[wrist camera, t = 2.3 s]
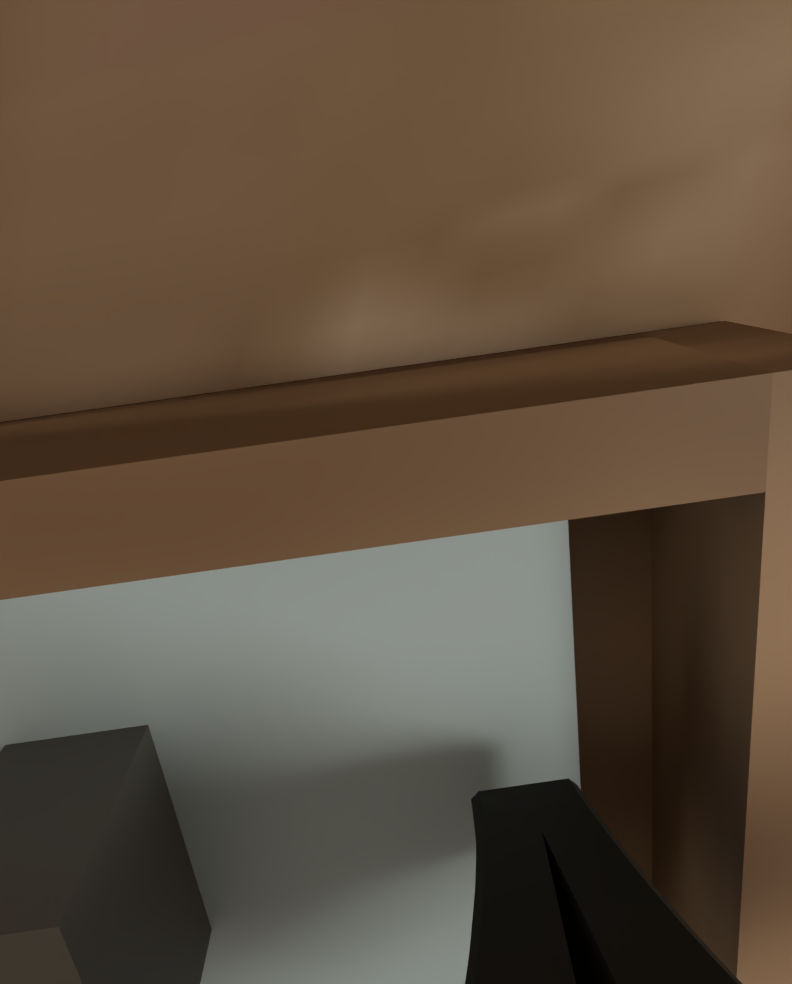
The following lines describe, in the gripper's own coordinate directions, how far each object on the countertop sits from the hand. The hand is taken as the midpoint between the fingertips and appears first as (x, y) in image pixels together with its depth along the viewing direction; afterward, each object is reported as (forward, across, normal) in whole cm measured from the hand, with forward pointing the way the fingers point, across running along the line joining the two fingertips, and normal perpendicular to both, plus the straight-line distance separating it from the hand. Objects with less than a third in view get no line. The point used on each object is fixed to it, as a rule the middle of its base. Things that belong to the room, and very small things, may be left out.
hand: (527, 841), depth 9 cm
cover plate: (+2, +4, 0) cm, 4 cm away
